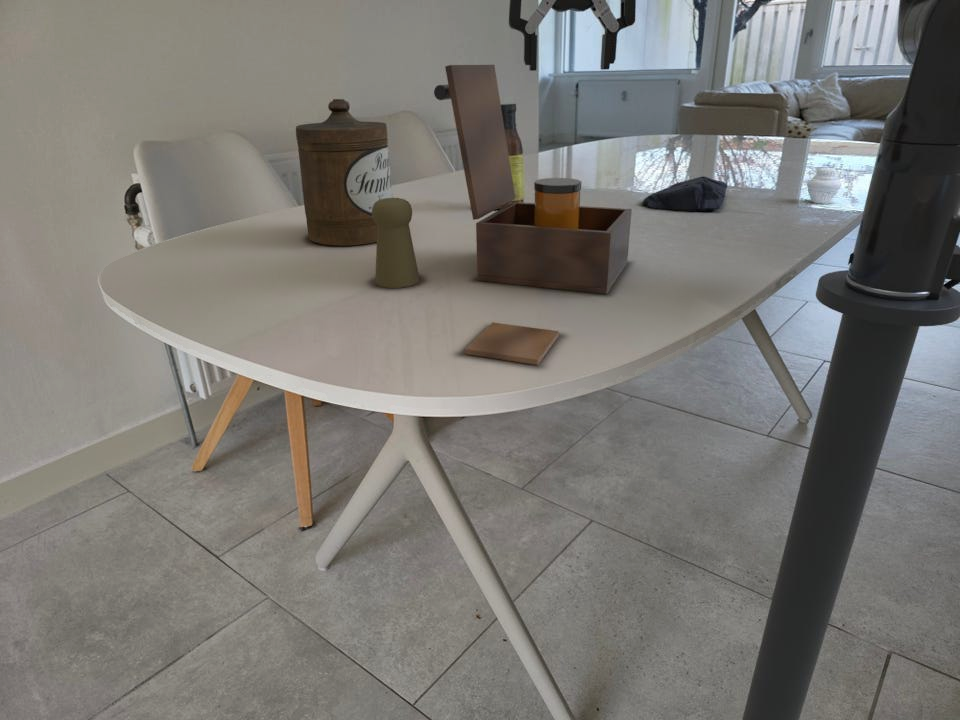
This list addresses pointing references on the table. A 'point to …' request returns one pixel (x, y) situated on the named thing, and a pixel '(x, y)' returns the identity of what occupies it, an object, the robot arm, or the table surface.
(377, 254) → the pepper shaker
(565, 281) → the chest
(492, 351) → the coaster
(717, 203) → the dark slate chunk
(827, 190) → the white vase
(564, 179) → the honey jar
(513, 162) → the sauce bottle
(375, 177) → the wooden container
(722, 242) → the table surface
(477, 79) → the lid
